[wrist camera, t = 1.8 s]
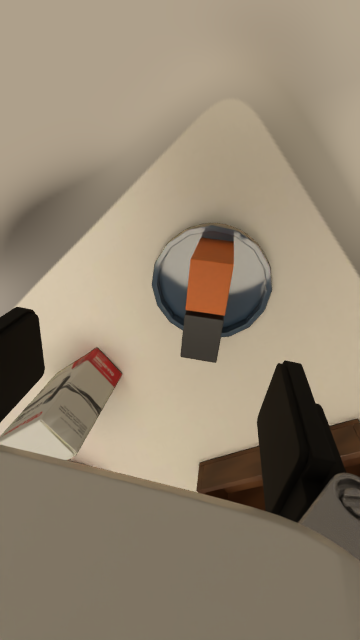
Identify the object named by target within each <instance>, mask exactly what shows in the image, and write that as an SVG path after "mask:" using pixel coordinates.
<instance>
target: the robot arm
mask: <svg viewBox="0 0 360 640" xmlns="http://www.w3.org/2000/svg"><path fill="white" fill-rule="evenodd" d="M44 370H45V366H44V358H43V350H42V342H41V334H40V326H39V318H38V316H37V315H36V314H35V312H34V311H33V310H31V309H26V308H21V307H16V308H14V309H12V310H11V311H9V312H8V313H6V314H5V315H3V316H1V317H0V422H1V421H2V420H3V419H4V418H5V417H6V416H7V415H8V413H9V412H10V411H11V410H12V409H13V408H14V407H15V406H16V405H17V404H18V403H19V401H20V400H21V399H22V398H23V397H24V396H25V395H26V394H27V393H28V392H29V391H30V389H31V388H32V387H33V386H34V385H35V384H36V383H37V382H38V381H39V380H40V378H41V377H42V376H43V374H44ZM257 427H258V438H259V448H260V458H261V469H262V479H263V489H264V500H265V510H266V511H263V510H260V509H257V508H254V507H250V506H246V505H243V504H239V503H235V502H231V501H228V500H224V499H220V498H216V497H213V496H209V495H205V494H201V493H197V492H193V491H189V490H185V489H181V488H177V487H173V486H169V485H165V484H161V483H157V482H153V481H149V480H145V479H141V478H137V477H133V476H129V475H125V474H121V473H117V472H113V471H108V470H104V469H100V468H96V467H92V466H88V465H84V464H80V463H76V462H71V461H67V460H63V459H59V458H55V457H51V456H47V455H42V454H38V453H34V452H30V451H26V450H21V449H17V448H13V447H9V446H5V445H0V640H360V477H358V476H356V475H353V474H350V473H346V470H345V467H344V465H343V462H342V459H341V457H340V454H339V451H338V449H337V446H336V443H335V441H334V438H333V435H332V433H331V430H330V427H329V425H328V422H327V419H326V417H325V414H324V411H323V409H322V407H321V406H320V405H319V404H316V403H315V401H314V398H313V395H312V392H311V389H310V387H309V384H308V381H307V378H306V375H305V372H304V370H303V367H302V365H301V364H300V363H295V362H290V361H284V362H283V364H280V363H278V364H277V366H276V369H275V372H274V374H273V377H272V380H271V382H270V385H269V388H268V390H267V393H266V396H265V399H264V401H263V404H262V407H261V409H260V412H259V415H258V420H257Z"/></svg>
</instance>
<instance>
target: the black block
mask: <svg viewBox="0 0 360 640" xmlns="http://www.w3.org/2000/svg"><path fill="white" fill-rule="evenodd" d="M223 322H224V316H223V315H216V314H210V313H203V312H196V311H190V310H186V313H185V317H184V327H183V337H182V346H181V357H184V358H190V359H196V360H202V361H208V362H215V363H216V361H217V356H218V350H219V345H220V339H221V333H222V328H223Z"/></svg>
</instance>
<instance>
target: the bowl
mask: <svg viewBox="0 0 360 640" xmlns="http://www.w3.org/2000/svg"><path fill="white" fill-rule="evenodd" d="M200 238H209V239H217V240H225V241H233V242H234V267H233V273H232V278H231V284H230V289H229V295H228V301H227V306H226V312H225V316H224V322H223V328H222V333H221V337H229V336H232V335H234V334H236V333H238V332H240V331H242V330H244V329H246V328H248V327H250V326H251V325H252V324H253V323H254V322H255V320H256V319H257V318H258V317H259V316H260V315H261V314H262V313H263V312H264V311H265V308H266V305H267V303H268V300H269V297H270V294H271V292H272V282H271V269H270V265H269V262H268V261H267V259H266V257H265V255H264V253H263V251H262V250H261V248H260V246H259V245H258V243H257V242H256V241H254V239H252V238H251V237H250V236H249V235H248V234H246V233H245V232H243V231H241V230H240V229H237V228H235V227H233V226H229V225H226V224H220V223H206V224H200V225H196V226H193V227H189V228H187V229H186V230H184V231H182V232H181V233H179V234H178V235H177V236H176V237H174V238H173V239H171V240H170V241H169V242H168V243H167V244H166V246H165V247H164V249H163V251H162V252H161V254H160V255H159V257H158V259H157V260H156V262H155V265H154V272H153V279H152V288H153V291H154V295H155V299H156V302H157V305H158V307H159V308H160V309H161V311H162V312H163V314H164V315H165V316H166V318H167V319H168V320H169V322H171V323H172V324H174V325H175V326H177V327H178V328H180V329H181V330H183V327H184V317H185V313H186V299H187V289H188V280H189V270H190V260H191V257H192V255H193V253H194V251H195V249H196V247H197V245H198V242H199V240H200Z"/></svg>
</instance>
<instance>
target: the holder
mask: <svg viewBox="0 0 360 640" xmlns="http://www.w3.org/2000/svg"><path fill="white" fill-rule="evenodd" d="M330 430H331V433H332V435H333V438H334V441H335V443H336V446H337V449H338V451H339V454H340V457H341V459H342V462H343V465H344V467H345V470H346V473H350V474H353V475H356V476H358V477H360V422H359V420H358V419H355V420H351V421H348V422H344V423H340V424H337V425H333V426H330ZM197 492H198V493H201V494H205V495H209V496H213V497H216V498H220V499H224V500H228V501H231V502H235V503H239V504H243V505H246V506H250V507H254V508H257V509H260V510H263V511H266V510H265V500H264V489H263V479H262V469H261V458H260V448H259V446H258V447H255V448H251V449H247V450H244V451H240V452H237V453H233V454H230V455H226V456H222V457H219V458H215V459H212V460H208V461H205V462H201V463H200V464H199V473H198V482H197Z"/></svg>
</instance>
